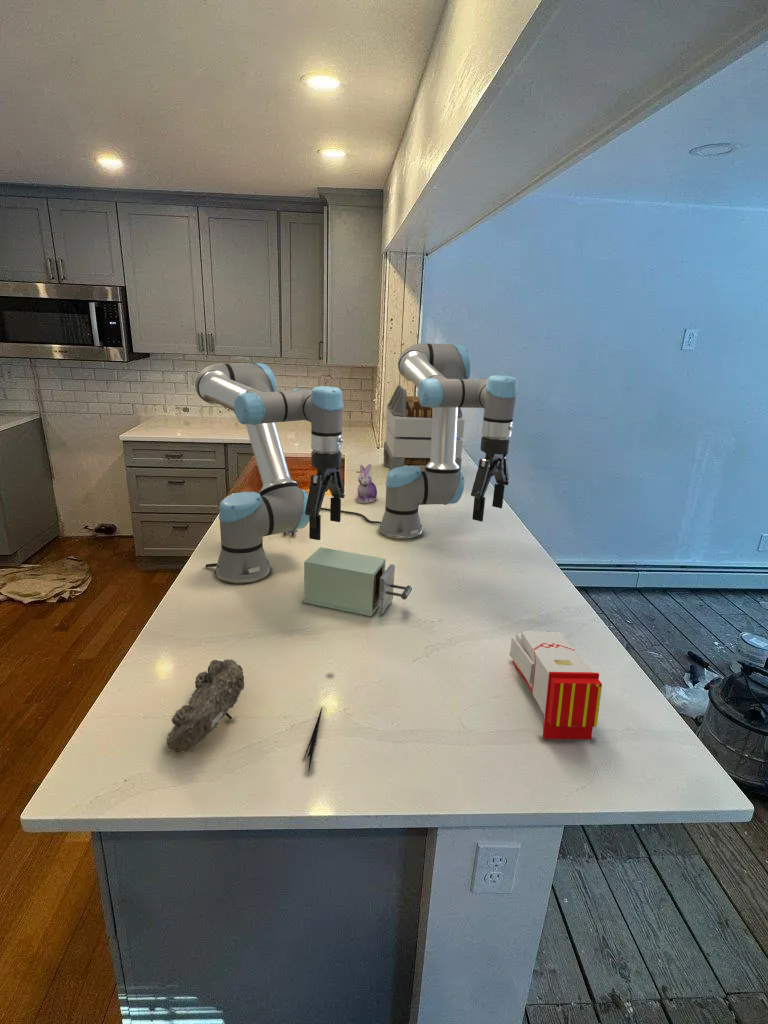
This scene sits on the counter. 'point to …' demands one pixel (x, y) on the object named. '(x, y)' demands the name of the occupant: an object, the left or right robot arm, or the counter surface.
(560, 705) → the toy
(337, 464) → the left robot arm
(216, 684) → the fossil
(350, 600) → the cabinet
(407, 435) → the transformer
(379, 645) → the counter surface
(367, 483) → the figurine
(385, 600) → the drawer
